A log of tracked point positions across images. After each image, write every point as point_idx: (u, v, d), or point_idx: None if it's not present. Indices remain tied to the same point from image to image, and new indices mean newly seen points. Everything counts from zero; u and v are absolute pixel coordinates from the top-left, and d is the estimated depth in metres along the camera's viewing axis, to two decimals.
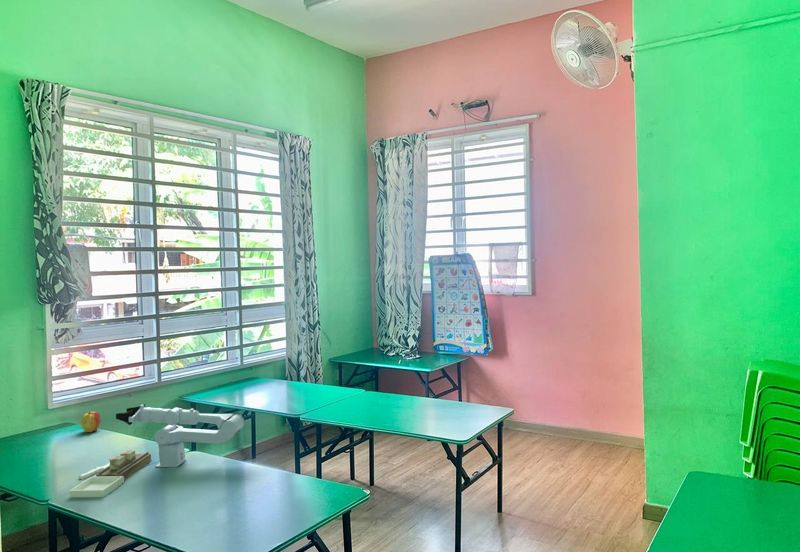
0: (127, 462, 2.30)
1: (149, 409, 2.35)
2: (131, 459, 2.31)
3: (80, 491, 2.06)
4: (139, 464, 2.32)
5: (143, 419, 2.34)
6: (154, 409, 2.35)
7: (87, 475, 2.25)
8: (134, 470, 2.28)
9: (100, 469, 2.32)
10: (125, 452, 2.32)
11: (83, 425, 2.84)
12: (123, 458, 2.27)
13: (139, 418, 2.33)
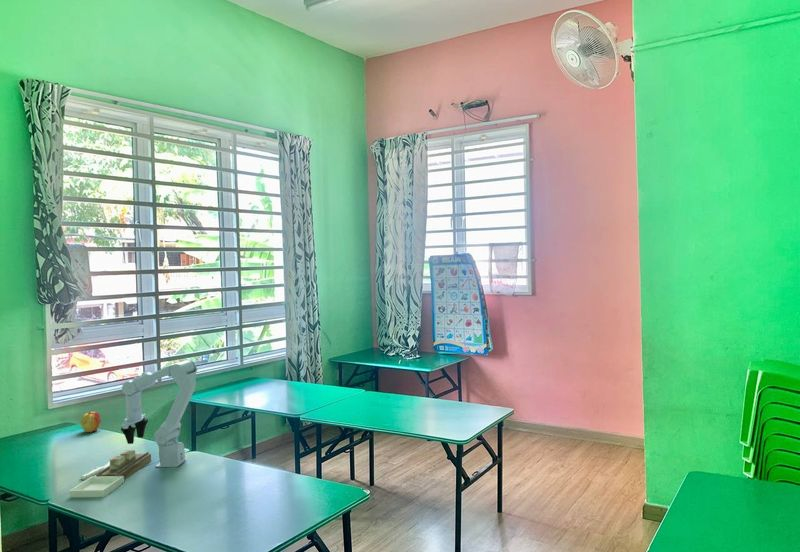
0: (127, 462, 2.30)
1: None
2: (131, 459, 2.31)
3: (80, 491, 2.06)
4: (139, 464, 2.32)
5: (133, 416, 2.36)
6: None
7: (89, 475, 2.25)
8: (134, 470, 2.28)
9: (101, 469, 2.31)
10: (125, 452, 2.32)
11: (83, 425, 2.84)
12: (123, 458, 2.27)
13: (132, 420, 2.36)
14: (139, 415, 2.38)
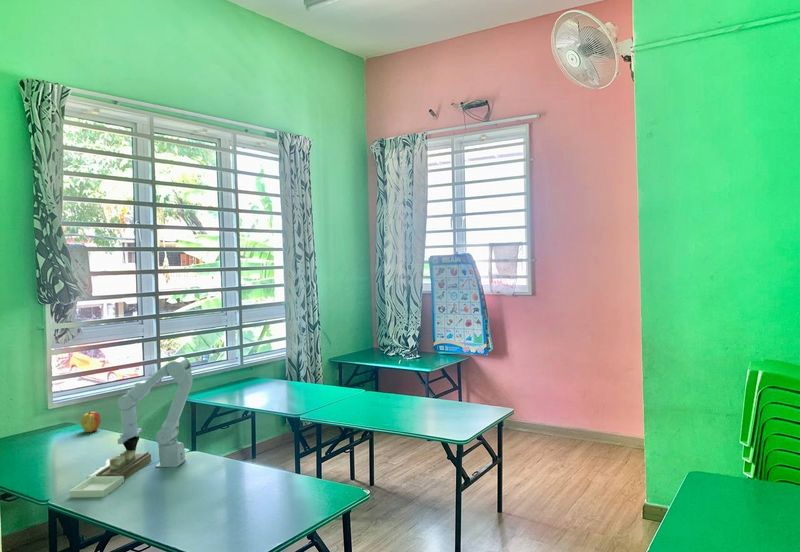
0: (127, 462, 2.30)
1: None
2: (131, 459, 2.31)
3: (80, 491, 2.06)
4: (139, 464, 2.32)
5: (129, 431, 2.32)
6: None
7: (95, 475, 2.25)
8: (134, 470, 2.28)
9: None
10: (125, 452, 2.32)
11: (83, 425, 2.84)
12: (123, 458, 2.27)
13: (128, 435, 2.32)
14: (135, 430, 2.34)
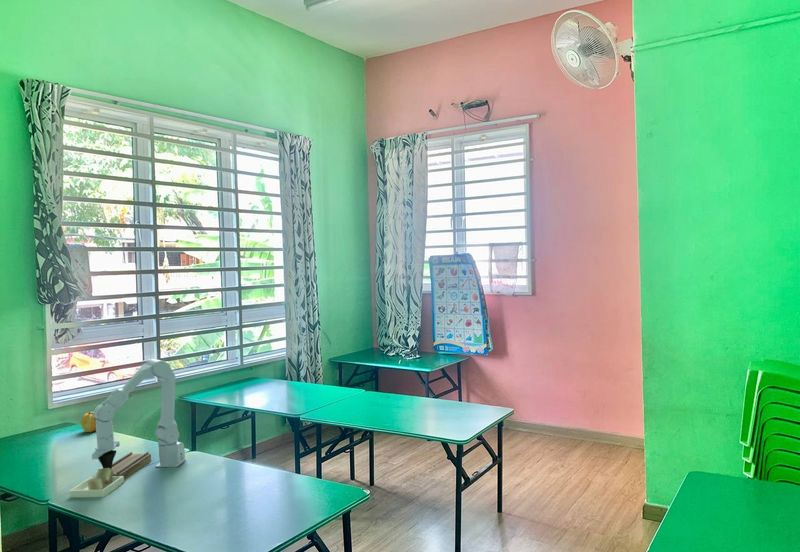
0: (106, 482, 2.16)
1: None
2: (109, 478, 2.16)
3: (80, 491, 2.06)
4: (139, 464, 2.32)
5: (104, 445, 2.16)
6: (98, 435, 2.16)
7: None
8: (134, 470, 2.28)
9: None
10: (100, 474, 2.15)
11: (83, 425, 2.84)
12: (99, 482, 2.11)
13: (103, 449, 2.16)
14: (111, 443, 2.18)
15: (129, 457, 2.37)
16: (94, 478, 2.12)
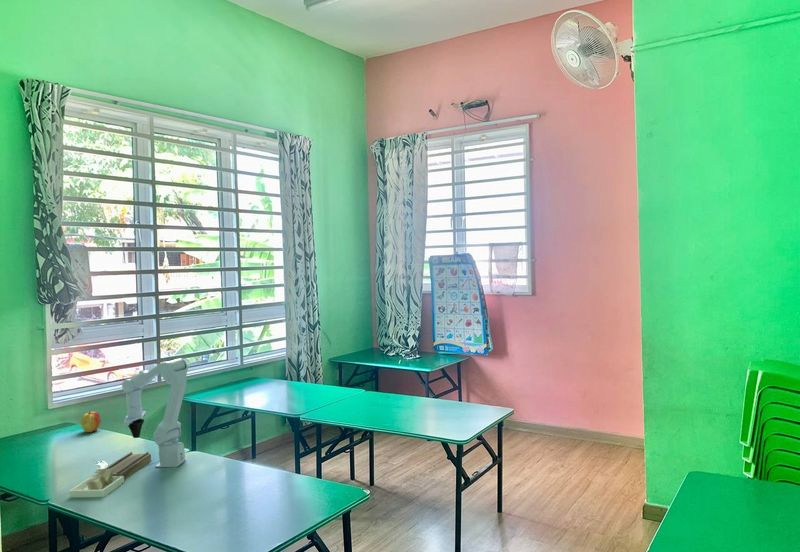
0: (105, 483, 2.15)
1: None
2: (108, 479, 2.15)
3: (80, 491, 2.06)
4: (139, 464, 2.32)
5: (134, 413, 2.40)
6: None
7: None
8: (134, 470, 2.28)
9: None
10: (99, 474, 2.15)
11: (83, 425, 2.84)
12: (98, 483, 2.10)
13: (133, 417, 2.40)
14: (139, 412, 2.42)
15: (129, 457, 2.37)
16: (93, 478, 2.11)
